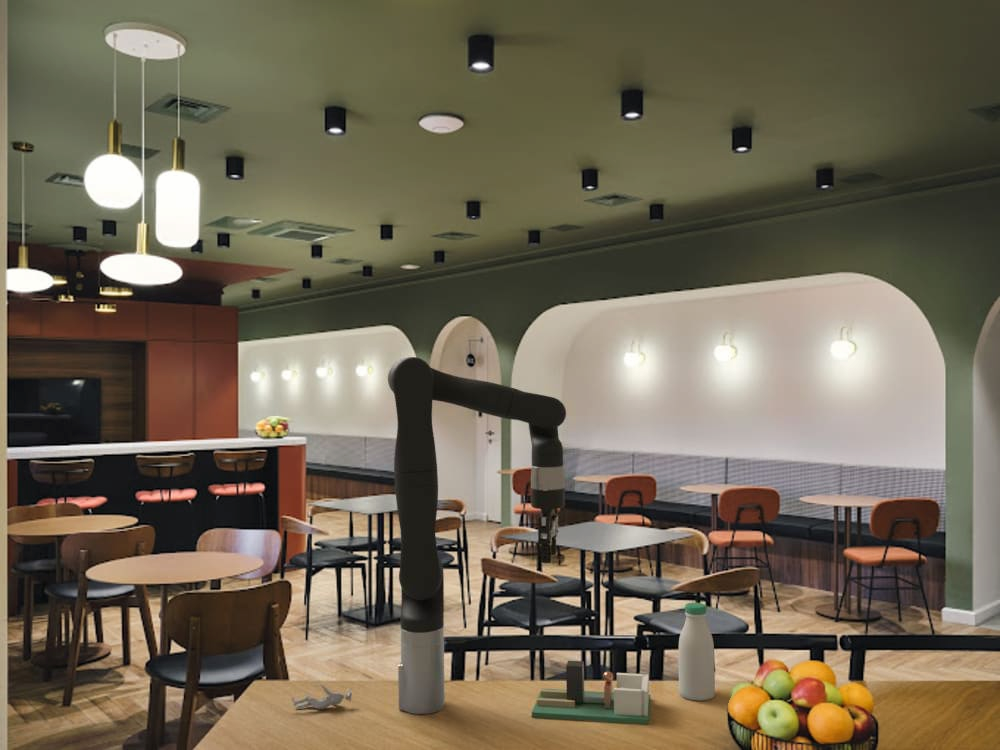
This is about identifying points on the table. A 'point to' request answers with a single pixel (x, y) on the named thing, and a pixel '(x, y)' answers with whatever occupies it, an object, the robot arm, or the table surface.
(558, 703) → the pitch
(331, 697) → the soldier figure
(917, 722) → the table surface
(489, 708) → the table surface
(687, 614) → the milk bottle
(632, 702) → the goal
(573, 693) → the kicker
